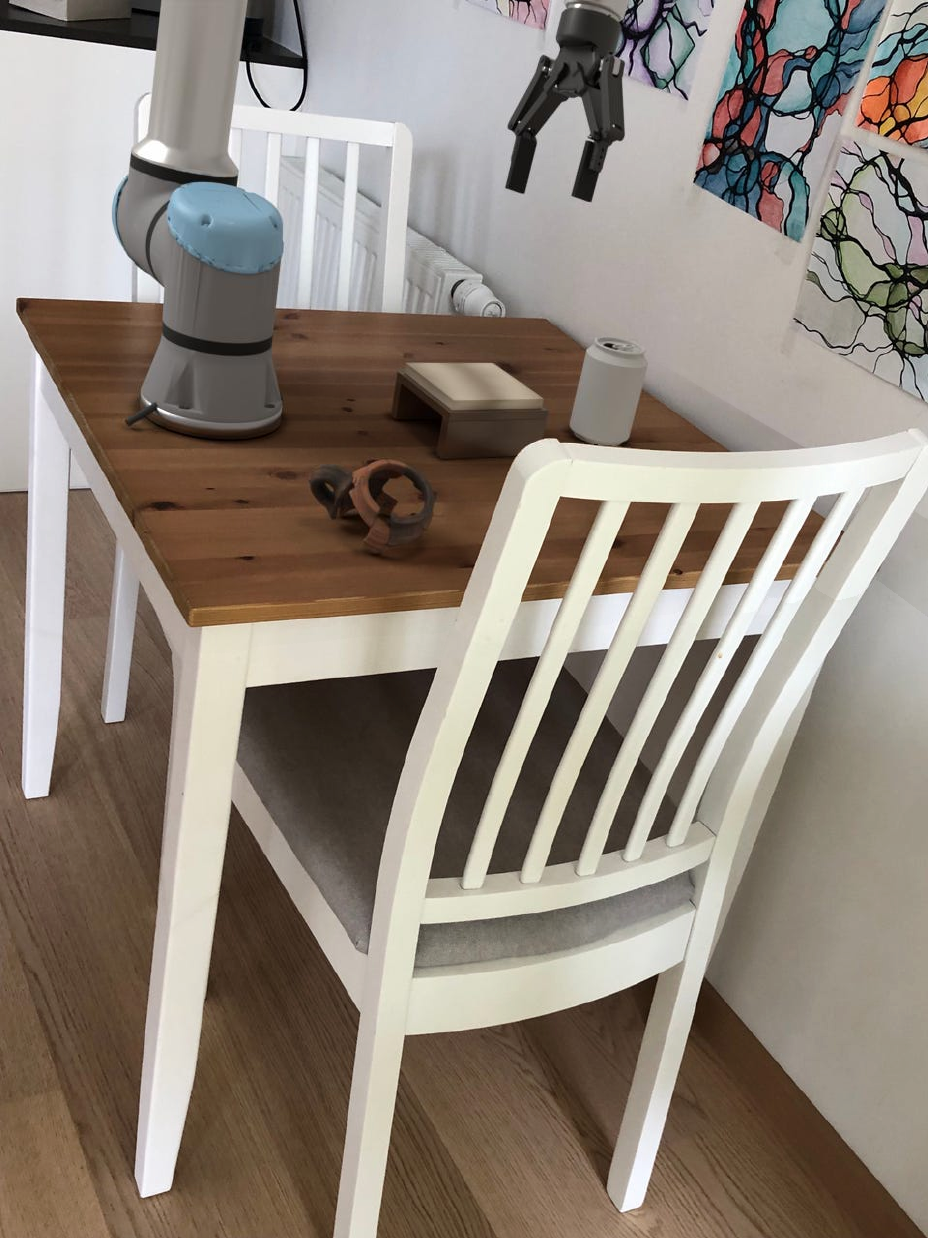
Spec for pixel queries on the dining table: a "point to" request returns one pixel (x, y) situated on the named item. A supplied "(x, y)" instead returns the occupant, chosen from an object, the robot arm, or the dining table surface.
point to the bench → (471, 408)
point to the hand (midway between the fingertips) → (546, 195)
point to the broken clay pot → (373, 500)
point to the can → (608, 391)
